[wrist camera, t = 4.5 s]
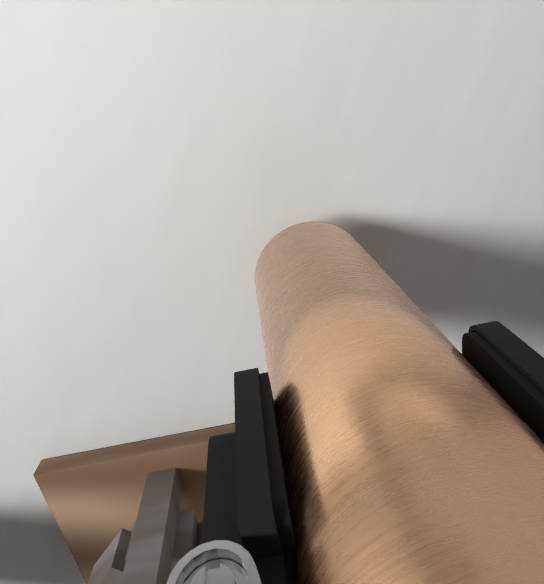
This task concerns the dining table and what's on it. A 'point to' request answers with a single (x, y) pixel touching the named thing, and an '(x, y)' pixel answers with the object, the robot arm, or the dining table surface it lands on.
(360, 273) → the copper tube
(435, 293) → the dining table surface
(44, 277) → the dining table surface
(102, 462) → the collar stand
